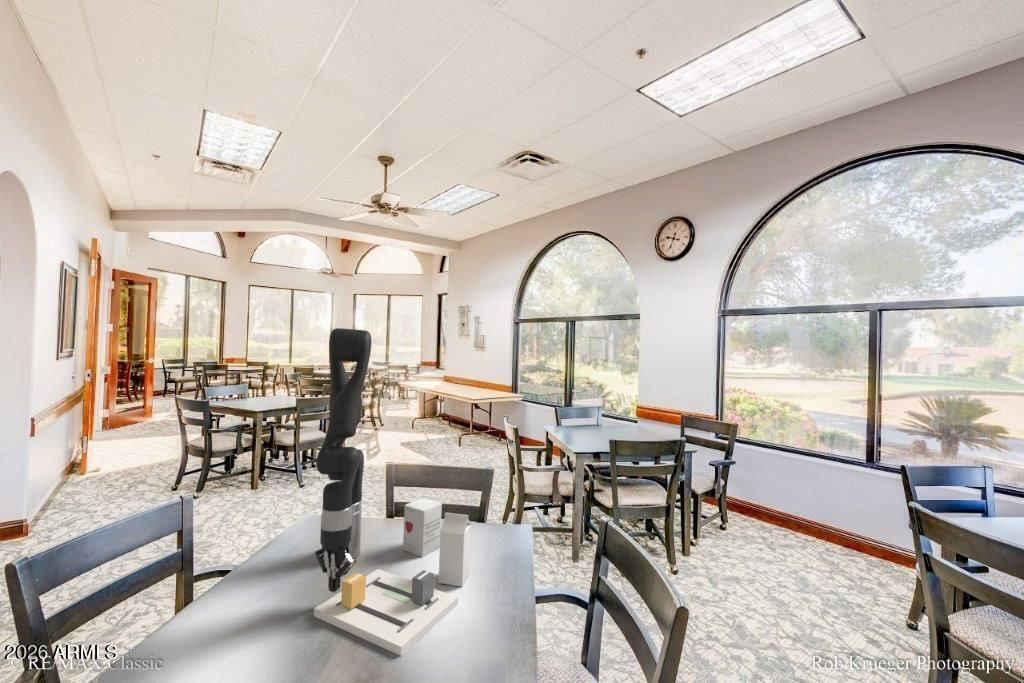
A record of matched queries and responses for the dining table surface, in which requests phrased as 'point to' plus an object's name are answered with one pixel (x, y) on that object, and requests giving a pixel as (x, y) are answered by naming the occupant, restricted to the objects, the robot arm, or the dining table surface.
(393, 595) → the board
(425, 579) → the fader charcoal
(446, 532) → the milk carton
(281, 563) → the dining table surface
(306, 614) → the dining table surface
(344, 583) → the fader amber
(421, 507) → the supplement box
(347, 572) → the robot arm
